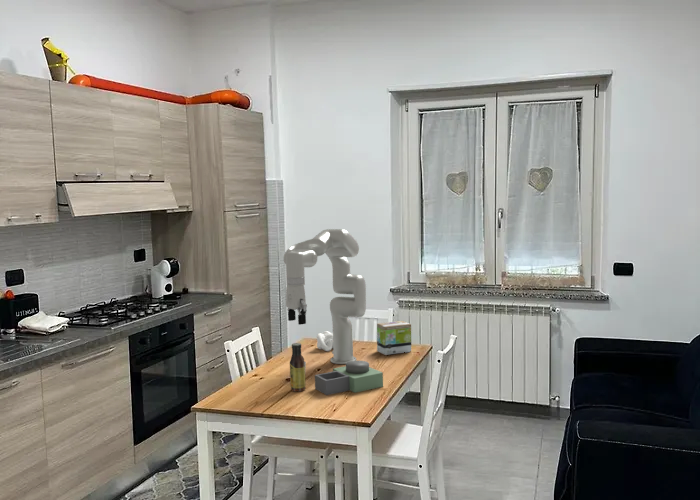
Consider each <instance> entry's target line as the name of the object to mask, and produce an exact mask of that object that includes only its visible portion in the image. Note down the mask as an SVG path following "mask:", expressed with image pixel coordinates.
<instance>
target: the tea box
mask: <svg viewBox="0 0 700 500" xmlns="http://www.w3.org/2000/svg"><path fill="white" fill-rule="evenodd" d="M376 351H377V352H379V353H380V354H382V355H384V356H387V355H388V356H389V355H395V354H396V355H397V354H403V353H404V352H405V353H411V352H412V324H411V323H409V322H406V321H404V320H398V321H396V320H395V321H388V322H379V323H378V322H377V323H376ZM410 351H411V352H410Z"/></svg>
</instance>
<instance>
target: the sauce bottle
mask: <svg viewBox="0 0 700 500" xmlns="http://www.w3.org/2000/svg"><path fill="white" fill-rule="evenodd" d="M291 349H292V350H291V352H292V353H291V357H290V360H289V379H290V380H289V381H290V390H291V391H292V392H296V391H298V392H303V391H305V390H306V368H305V365H304V361H305V358H304V356H303V354H302V343H301V342H293V343H292V344H291Z"/></svg>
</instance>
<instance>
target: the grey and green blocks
mask: <svg viewBox="0 0 700 500" xmlns="http://www.w3.org/2000/svg"><path fill="white" fill-rule="evenodd" d="M383 387H384V372H382V371H381V370H378V369H376V368H372V367H370V363H369V362H368V361H366V360H356V361H350V362H347V363H346V364H345V366H339V367H335V368H332V371H328V372H324V373H317V374H315V375H314V388H315V390H316V391H319V392H320V393H322V394H323V393H324V395H325V396H330V395H333V394H339V393H344V392H348V391H351V392H352V393H354V394H355V393H359V392H364V391H369V390H370V391H371V390H373V389H379V388H383Z"/></svg>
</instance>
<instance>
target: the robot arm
mask: <svg viewBox="0 0 700 500" xmlns="http://www.w3.org/2000/svg"><path fill="white" fill-rule="evenodd" d="M359 250H360V246H359V243H358V241H357V239H355V237H354V236H353V235H352V234H351V233H350V232H349V231H347V230H346V229H344V228H327V229H323V230H322V231H320V232H319V233H318V234H317V235H315V236H314V237H312V238H311V239H307V240H304V241H301V242H298V243H295V244H293V245H291V246H290V247H289V248H287V249H286V251H285V252H284V253H283V254H284V255H283V262H284V265H285V276H286V278H285V279H286V288H285V289H286V290H285V306H286V308H287V309H286V310H287V316H288V317H287V320H288V321H289V322H291V321H296V319H297V318H298V319H297V320H298V321H297V322H298V323H297V324H298V326H299V325H306V324H307V319H306V318H307V317H306V315H307V307H308V306H307V305H308V304H307V303H306V291H305V285H306V284H305V281H306V280H305V268H312V267H314V266H316V264H317V262H318V257H320V256H323V255H325V254H326V256H327V257H328V259H329V261H330V262H331V265H332V289H333V292H334V293H336V294H340V295H353V297H352V296H335V297H333V298H331V300H330V302H329V310H330V315H331V322H332V323H331V325H332V334H333V348H332V351H331V354H333V355H332V356H333V357H331V358H330V362H331V363H332V364H334V365H335V364H336V365H346V363H347V362H350V361H357V357H355V356H354V345H353V343H354V342H353V338H354V337H353V324H352V322H351V320H350V318H361V317H363V316H365V313H366V309H367V298H366V297H367V290H366V289H367V286H366V285H367V284H366V280H365V278H364V277H363V276H362V275H360V274H351V264H350V261H349V259H348V258H354V257H357V255H358V253H359V252H360V251H359ZM296 311H297V313H298V315H297V317H296Z"/></svg>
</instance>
